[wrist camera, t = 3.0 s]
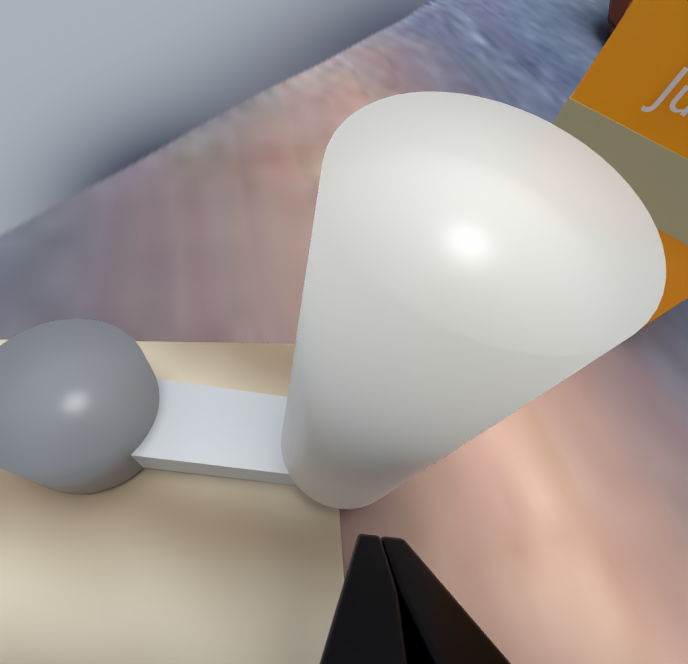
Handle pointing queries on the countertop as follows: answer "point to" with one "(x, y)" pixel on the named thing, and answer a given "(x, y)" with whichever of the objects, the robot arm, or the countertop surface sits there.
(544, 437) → the countertop surface
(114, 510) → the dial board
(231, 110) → the countertop surface
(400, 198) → the crank handle
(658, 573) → the countertop surface
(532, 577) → the countertop surface
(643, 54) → the orange juice
